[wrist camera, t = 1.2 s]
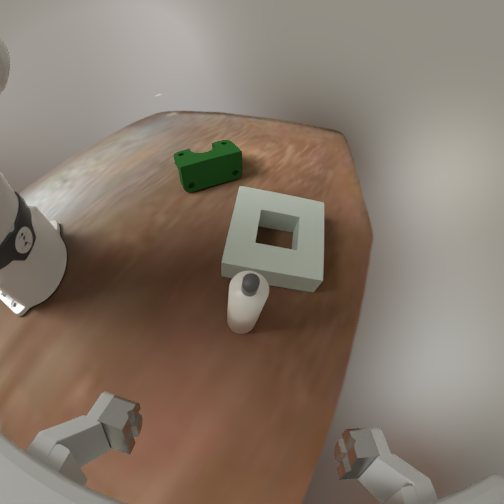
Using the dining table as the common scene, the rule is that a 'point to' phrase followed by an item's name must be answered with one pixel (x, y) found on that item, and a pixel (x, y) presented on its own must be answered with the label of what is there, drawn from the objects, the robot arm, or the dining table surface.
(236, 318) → the white bottle
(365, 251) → the dining table surface
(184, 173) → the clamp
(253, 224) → the housing
